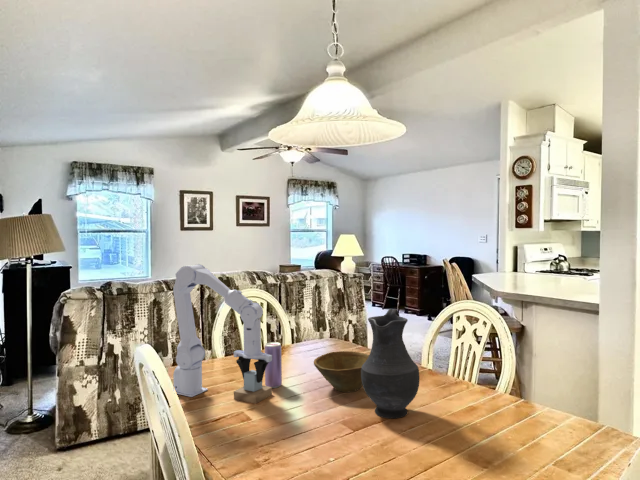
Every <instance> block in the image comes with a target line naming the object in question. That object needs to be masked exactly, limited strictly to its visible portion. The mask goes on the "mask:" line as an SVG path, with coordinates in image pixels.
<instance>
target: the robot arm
mask: <svg viewBox="0 0 640 480" xmlns="http://www.w3.org/2000/svg"><path fill="white" fill-rule="evenodd" d="M197 285H205V286H207V287H208V288H210V289H211V290H213V291H214V292H216V293H217V294H219V296H221V297H223V298H224V303H225V304H226V305H227V306H229V308H231V309H232V310H233V311H235V312H236V313H237V314H239V316H240V319H241V321H242V322H243V350H240V349H236V350H235V351H233V357H234V358H238V359H236V360H235V362H236V364H237V366H238V367H239V369H240V373H241V375H242V379H243V380H244V373H245V372H248V371H250V368H251V367H250V364H251V360H256V361H255V362H253V366H254V368H255V371H256V377H257V383H260V382H262V383H263V379H264V376H265V369H266V367H267V365H268V363H269V362H270V361H272V355H269V354H266V353H265V352H262V331H261V330H262V329H261V328H262V326H261V323H262V322H261V318H262V317H263V313H264V310H263V307H262V306H261V305H260V303H258V302H253V300H252V299H249V298H248V297H247V296H245V295H243V292H242V291H241V290H240V289H238V290H237V289H230V287H228V286H227V285H226V284H225V283H224V282H222V281H221V280H220V278H218V277H217V276H215V274H213V272H211V270H210V269H209V268H207V267H206V266H204V265H203V264H200V263H198V264H197V263H196V264H194V265H193V264H191V265H183V266H181V267H180V268H179V269H178V270H177V271H176V273H175V282H174V285H173V287H172V289H173V290H172V291H173V299H174V304H175V305H174V306H175V311H176V312H175V313H176V318H177V325H178V332H179V339H180V341H179V343H178V344H177V347H176V356H175V362H176V364H177V366H176V367H175V368H174V371H173V376H172V377H173V380H172V381H173V388H174V387H175V390H176V392H177V394H176V395H180V396H181V395H182V396H184V397H189V398H192V397H196V396H197V395H200V394H202V393H203V392H206V391H208V390H209V389H208V388H207V387H203V360H204V359H205V356H206V350H205V348H204V346H203V345H202V340H201V339H200V338H199V337H198V336H197V330H196V324H195V323H196V322H195V316H194V309H193V304H192V296H191V293H192V290H193V289H194V288H195V287H196V286H197Z"/></svg>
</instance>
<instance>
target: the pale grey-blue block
mask: <svg viewBox="0 0 640 480" xmlns="http://www.w3.org/2000/svg"><path fill="white" fill-rule="evenodd" d="M262 386H263V381H262V382H260V383H257V377H256V369H255V370H254V369H251V370H249V371H248V372H245V373H244V379H243V387H244V390H248V391H252V392H255V391H257V390H260V389H262Z"/></svg>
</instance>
